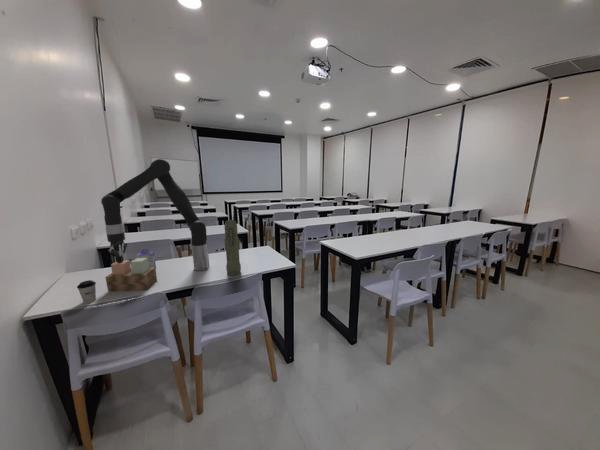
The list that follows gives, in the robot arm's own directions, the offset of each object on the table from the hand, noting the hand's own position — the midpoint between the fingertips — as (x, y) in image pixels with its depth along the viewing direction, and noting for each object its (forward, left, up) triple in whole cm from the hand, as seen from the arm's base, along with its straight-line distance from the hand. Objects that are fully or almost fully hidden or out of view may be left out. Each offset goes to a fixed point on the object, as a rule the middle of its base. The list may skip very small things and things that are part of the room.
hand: (120, 262), depth 126 cm
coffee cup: (+8, +14, -15) cm, 22 cm away
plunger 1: (0, 0, -10) cm, 10 cm away
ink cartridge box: (0, -24, -15) cm, 28 cm away
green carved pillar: (-59, -12, -15) cm, 62 cm away
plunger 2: (-10, 0, -9) cm, 13 cm away
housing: (-5, 0, -15) cm, 16 cm away
